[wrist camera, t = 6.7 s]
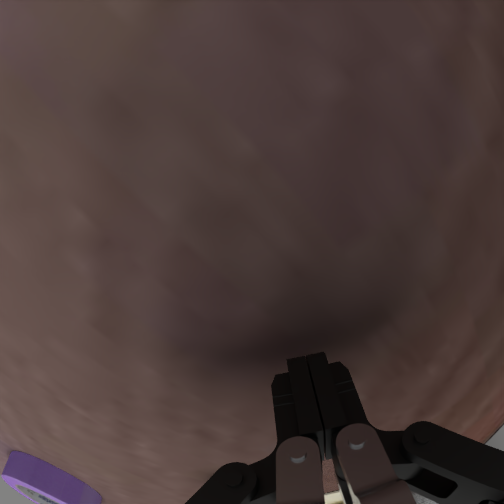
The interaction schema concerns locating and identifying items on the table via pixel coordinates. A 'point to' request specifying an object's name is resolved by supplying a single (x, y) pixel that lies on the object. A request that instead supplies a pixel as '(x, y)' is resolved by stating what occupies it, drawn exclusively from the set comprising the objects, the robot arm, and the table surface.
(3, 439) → the table surface
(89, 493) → the masking tape
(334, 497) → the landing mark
